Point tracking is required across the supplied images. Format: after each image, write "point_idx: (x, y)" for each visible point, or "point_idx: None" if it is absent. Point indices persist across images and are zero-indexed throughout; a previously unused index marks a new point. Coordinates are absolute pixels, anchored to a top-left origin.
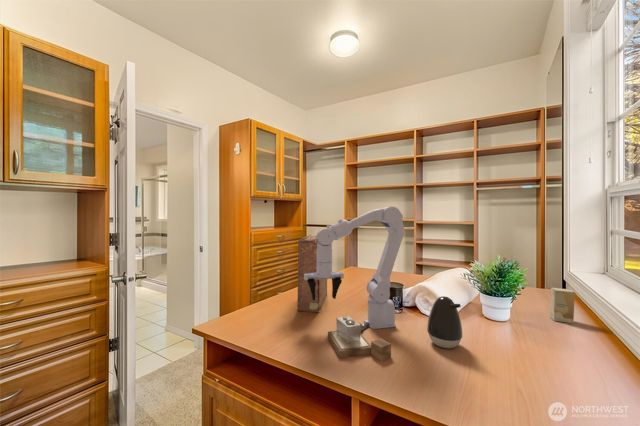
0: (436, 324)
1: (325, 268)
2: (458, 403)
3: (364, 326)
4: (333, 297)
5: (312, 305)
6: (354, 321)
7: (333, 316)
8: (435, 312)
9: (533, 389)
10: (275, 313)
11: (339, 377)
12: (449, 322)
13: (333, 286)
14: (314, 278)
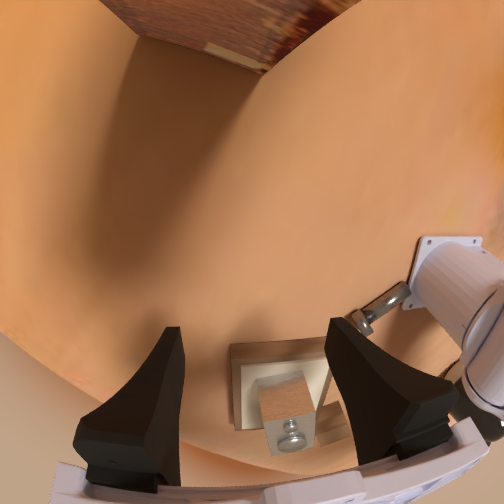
0: (456, 417)
1: None
2: (340, 462)
3: (383, 314)
4: (327, 345)
5: (224, 51)
6: (305, 445)
7: (326, 148)
8: None
9: None
10: (31, 69)
11: (215, 447)
12: None
13: (362, 393)
14: (168, 500)
